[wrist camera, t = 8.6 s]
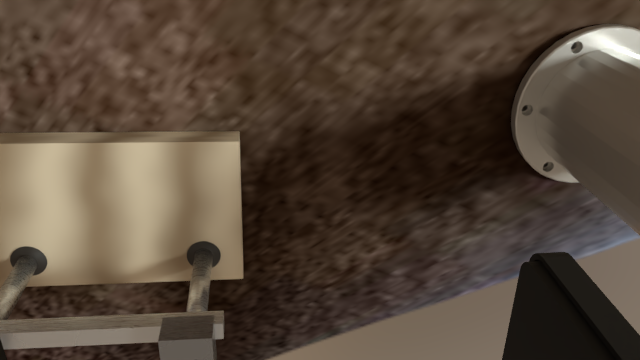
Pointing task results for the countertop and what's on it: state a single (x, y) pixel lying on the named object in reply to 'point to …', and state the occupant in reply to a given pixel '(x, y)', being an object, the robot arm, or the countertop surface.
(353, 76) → the countertop surface
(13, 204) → the board
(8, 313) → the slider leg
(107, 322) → the frame
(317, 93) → the countertop surface
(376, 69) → the countertop surface
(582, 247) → the countertop surface
